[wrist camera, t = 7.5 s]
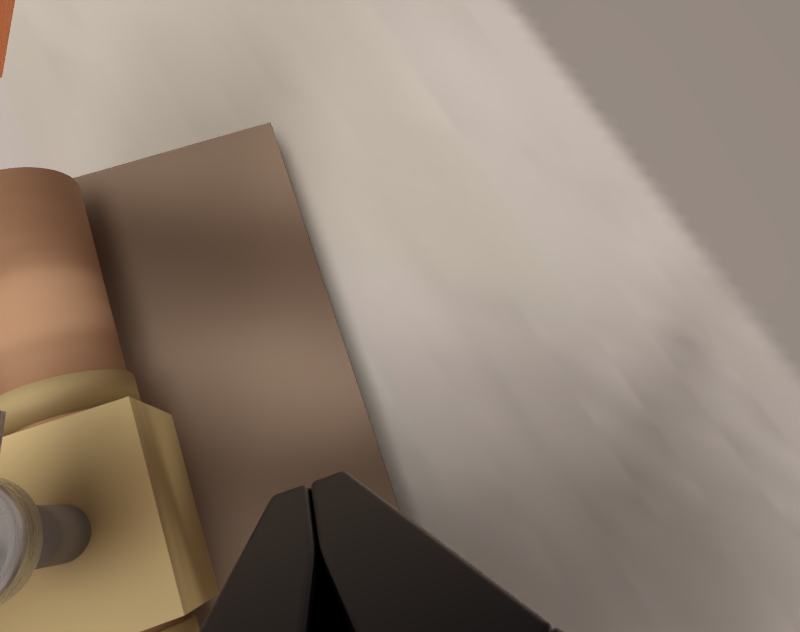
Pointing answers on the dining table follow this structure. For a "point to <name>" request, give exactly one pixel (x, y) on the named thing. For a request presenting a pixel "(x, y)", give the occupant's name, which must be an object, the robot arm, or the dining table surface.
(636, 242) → the dining table surface
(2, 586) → the valve lever
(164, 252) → the valve stand
